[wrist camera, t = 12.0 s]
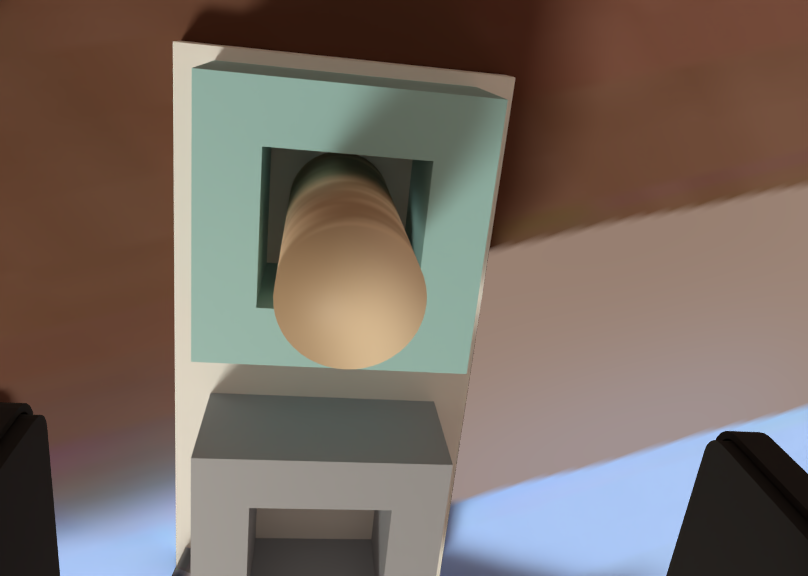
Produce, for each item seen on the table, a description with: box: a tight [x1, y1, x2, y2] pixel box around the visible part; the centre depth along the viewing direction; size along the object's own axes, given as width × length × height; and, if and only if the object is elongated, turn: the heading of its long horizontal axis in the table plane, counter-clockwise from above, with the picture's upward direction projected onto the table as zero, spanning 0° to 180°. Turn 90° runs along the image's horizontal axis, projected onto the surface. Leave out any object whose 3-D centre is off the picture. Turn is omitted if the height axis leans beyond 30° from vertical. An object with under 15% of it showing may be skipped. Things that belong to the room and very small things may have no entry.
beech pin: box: [273, 152, 427, 369], centre depth 23 cm, size 4×4×11 cm
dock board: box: [173, 41, 515, 576], centre depth 29 cm, size 13×25×6 cm, turn 174°
